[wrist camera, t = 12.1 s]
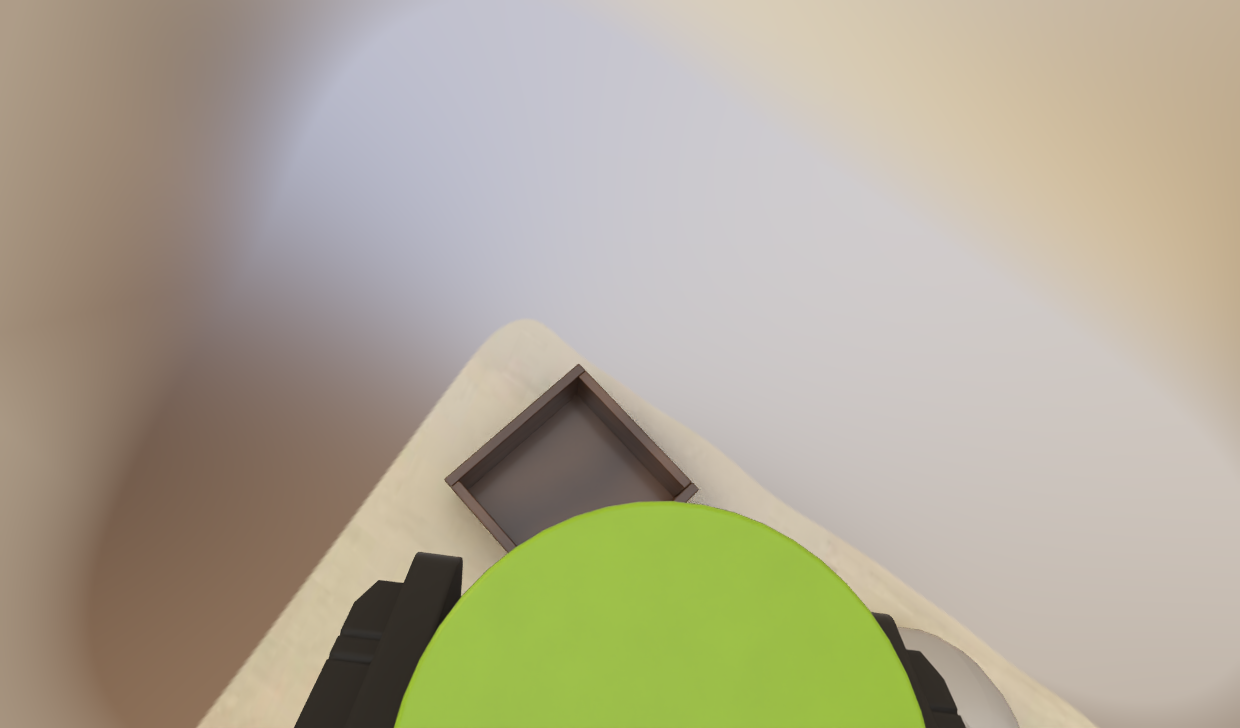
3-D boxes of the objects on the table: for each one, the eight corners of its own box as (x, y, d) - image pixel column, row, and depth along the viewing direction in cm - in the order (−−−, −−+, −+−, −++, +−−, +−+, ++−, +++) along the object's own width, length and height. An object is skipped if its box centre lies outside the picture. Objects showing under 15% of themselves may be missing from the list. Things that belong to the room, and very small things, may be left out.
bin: (455, 490, 44) (443, 479, 40) (577, 384, 47) (578, 363, 42) (566, 617, 42) (566, 620, 38) (686, 499, 45) (699, 489, 40)
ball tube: (419, 677, 17) (257, 778, 8) (614, 495, 19) (673, 399, 9) (599, 901, 16) (662, 1331, 7) (788, 687, 18) (1048, 790, 8)
